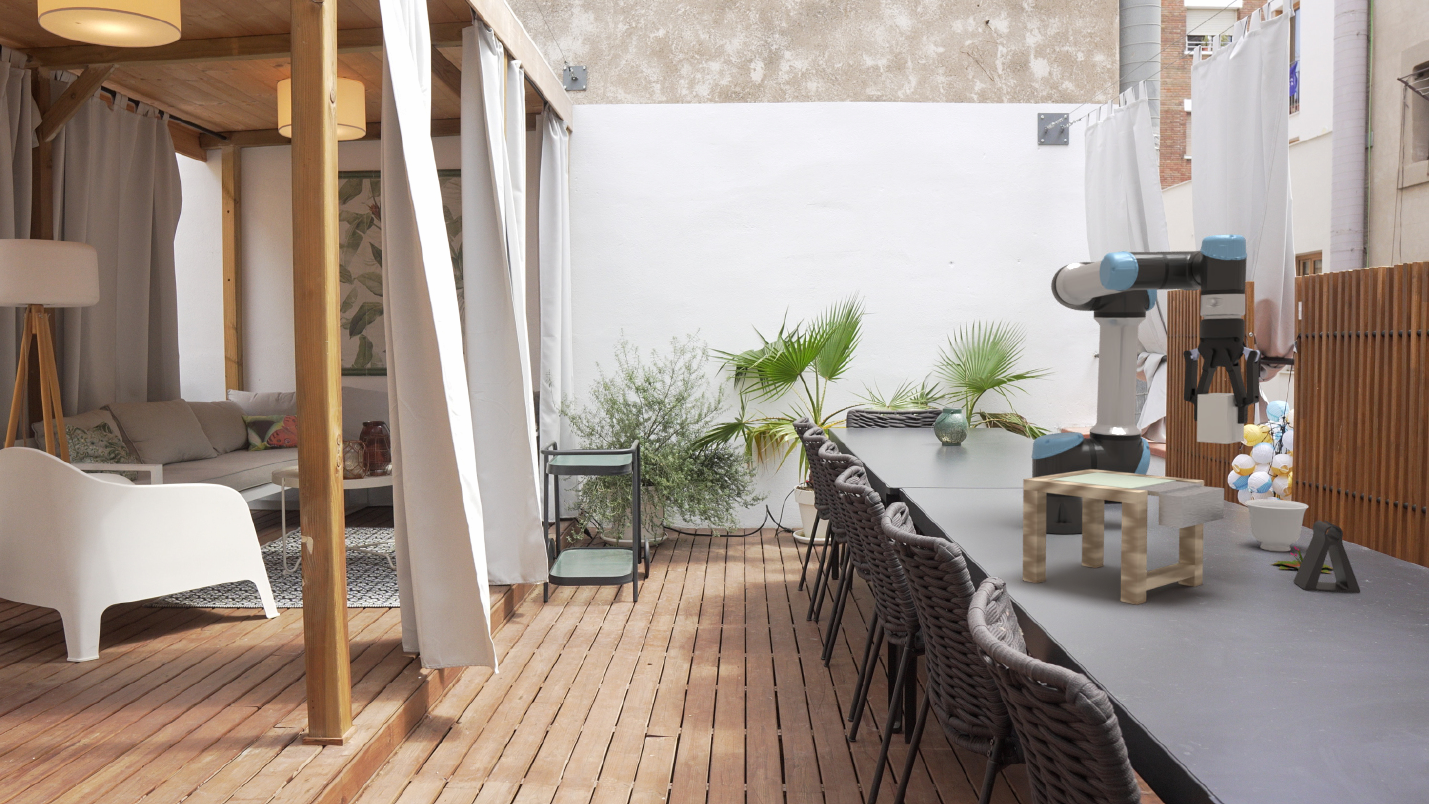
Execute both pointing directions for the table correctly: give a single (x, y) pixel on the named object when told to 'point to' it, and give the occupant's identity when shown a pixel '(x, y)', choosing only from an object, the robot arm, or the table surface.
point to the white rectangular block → (1215, 418)
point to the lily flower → (1297, 563)
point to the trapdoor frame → (1133, 534)
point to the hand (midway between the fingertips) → (1219, 439)
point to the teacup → (1276, 522)
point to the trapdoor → (1167, 497)
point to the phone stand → (1316, 557)
